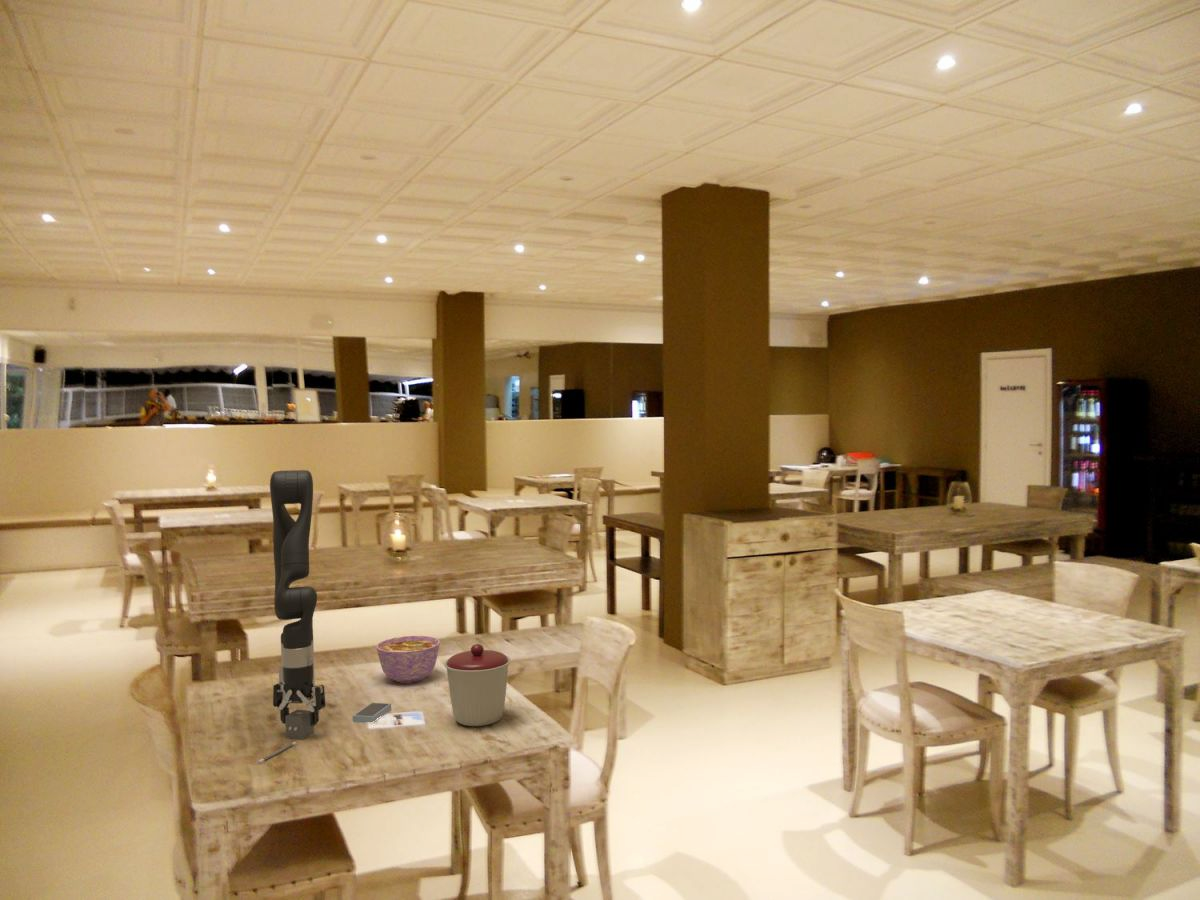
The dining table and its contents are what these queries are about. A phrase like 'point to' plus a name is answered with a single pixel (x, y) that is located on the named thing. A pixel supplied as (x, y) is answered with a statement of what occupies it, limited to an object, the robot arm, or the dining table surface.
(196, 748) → the dining table surface
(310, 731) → the charger
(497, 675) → the canister
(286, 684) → the robot arm
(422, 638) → the bowl of food
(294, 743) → the cable
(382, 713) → the phone
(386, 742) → the dining table surface
